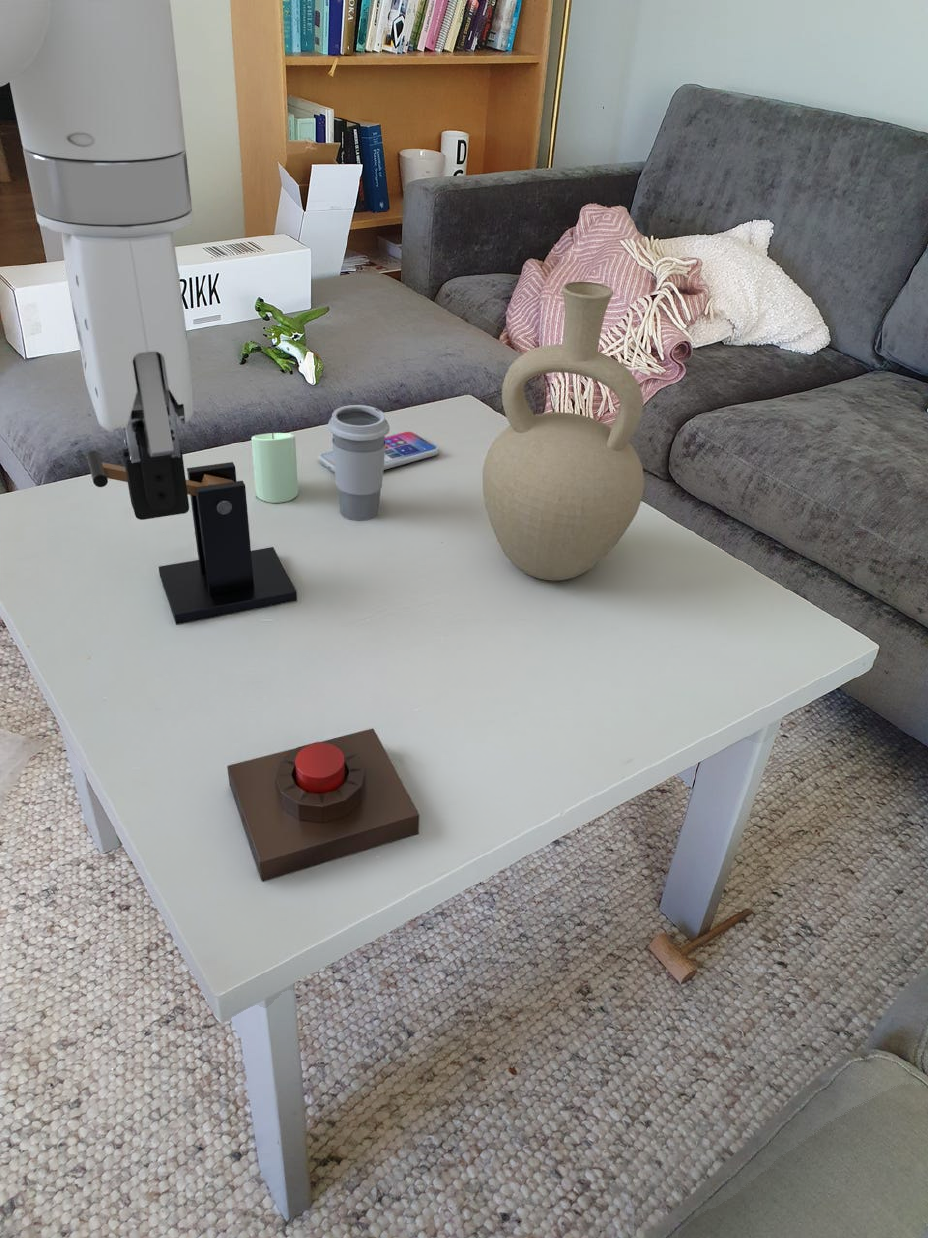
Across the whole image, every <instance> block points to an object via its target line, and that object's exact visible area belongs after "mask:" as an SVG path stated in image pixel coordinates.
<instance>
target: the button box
mask: <svg viewBox="0 0 928 1238" xmlns="http://www.w3.org/2000/svg"><path fill="white" fill-rule="evenodd" d="M315 743H328V744H332V745H334V746H336V747H338V748H339V749H340V750H341V751H342V753H343V754H344V758H345V778H344V781H343V783H342V784H341V785H340V786H339V787H338V788H337V789H336V790H334V791H331V792H327V793H324V794H316V793H310V792H307V791H305V790H303V789H302V788H301V787H300V786H299V785H298V783H297V779H296V766H295V759H296V756H297V754H298V753H299V752H300V751H301V750H302V749H303V748H305V747H306V746H309V745H311V744H315ZM226 769H227V776H228V784H229V788H230V791H231V794H232V798H233V801H234V803H235V806H236V809H237V811H238V816H239V818H240V820H241V824H242V828H243V830H244V833H245V836H246V839H247V842H248V845H249V848H250V851H251V854H252V857H253V860H254V864H255V866H256V870H257V872H258V876H259V878H260V881H261V882H266V881H270V880H273V879H276V878H279V877H282V876H285V875H288V874H293V873H295V872H298V871H299V872H300V871H302V870H306V869H308V868H312V867H315V866H318V865H321V864H324V863H329V862H331V861H335V860H337V859H341V858H345V857H347V856H350V855H353V854H357V853H360V852H363V851H366V850H370V849H373V848H377V847H379V846H383V845H386V844H390V843H393V842H396V841H400V840H402V839H406V838H409V837H413V836H415V835H418V834H419V828H420V826H419V825H420V813H419V811H418V809H417V807H416V805H415V804H414V802H413V800H412V798H411V797H410V794H409V792H408V790H407V789H406V787H405V785H404V783H403V781H402V779H401V778H400V776H399V774H398V771H397V770H396V768H395V766H394V764H393V762H392V761H391V759H390V757H389V755H388V753H387V751H386V749H385V748H384V745H383V743H382V742H381V740H380V738H379V736H378V734H377V732H376V730H375V729H374V728H368V729H366V730H361V731H358V732H354V733H349V734H346V735H341V736H338V737H334V738H329V739H327V740H321V741H316V742H313V743H308V744H304V745H300V746H297V747H295V748H291V749H287V750H284V751H279V752H277V753H271V754H267V755H263V756H260V757H256V758H252V759H247V760H245V761H241V762H240V761H239V762H237V763H233V764H229V765H227V766H226Z"/></svg>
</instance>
